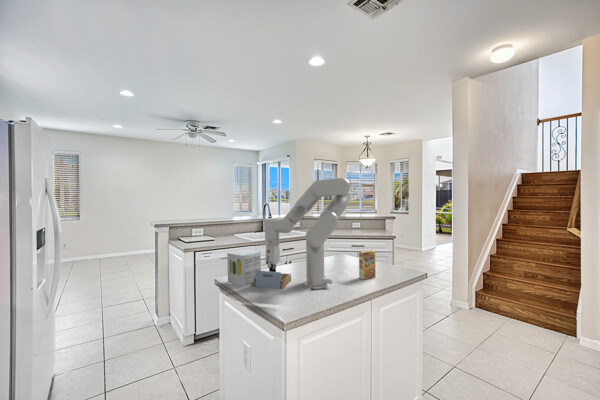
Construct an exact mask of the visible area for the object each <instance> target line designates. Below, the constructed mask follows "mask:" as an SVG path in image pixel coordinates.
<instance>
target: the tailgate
mask: <svg viewBox="0 0 600 400" xmlns="http://www.w3.org/2000/svg"><path fill="white" fill-rule="evenodd" d="M281 273H282V272H281V271H276V272H270V271H269V270H267V271H265V270H261V271H256V288H269V289H281ZM281 290H282V289H281Z"/></svg>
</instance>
